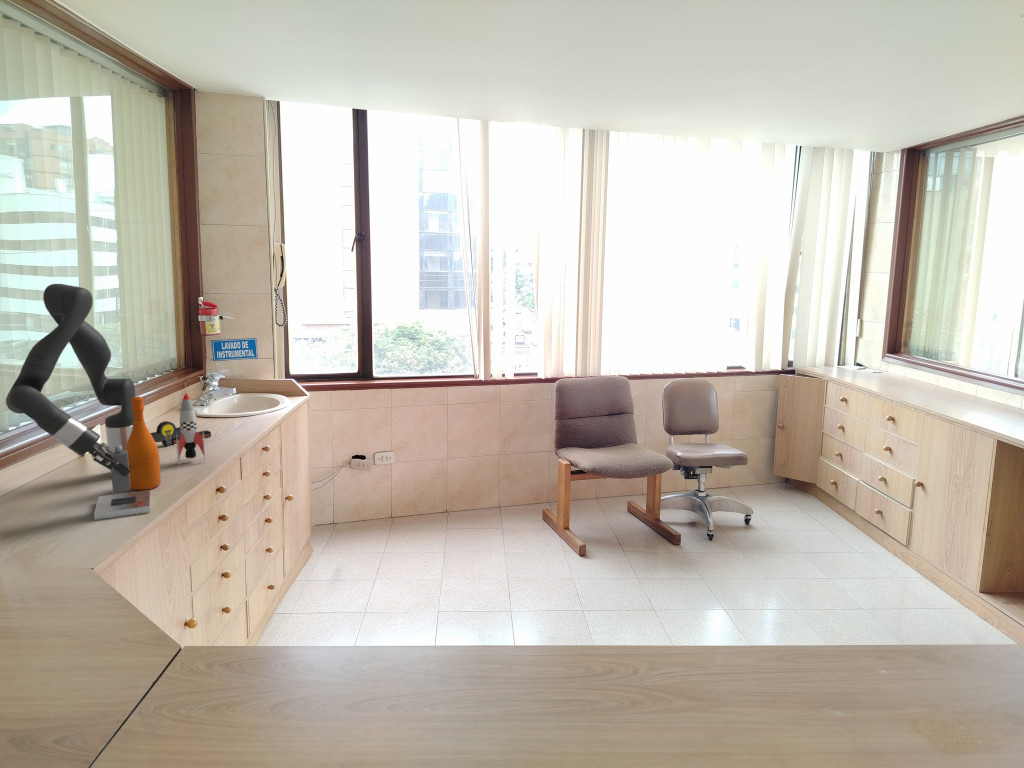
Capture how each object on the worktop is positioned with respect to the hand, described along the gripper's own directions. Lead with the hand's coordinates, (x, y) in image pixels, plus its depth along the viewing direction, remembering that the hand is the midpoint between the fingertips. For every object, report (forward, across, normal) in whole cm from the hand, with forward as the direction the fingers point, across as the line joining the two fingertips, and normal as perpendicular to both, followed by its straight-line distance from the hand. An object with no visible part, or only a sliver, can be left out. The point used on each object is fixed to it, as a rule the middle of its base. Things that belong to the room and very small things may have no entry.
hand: (127, 471), depth 204 cm
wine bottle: (+10, +19, +5) cm, 22 cm away
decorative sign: (+18, +74, -3) cm, 76 cm away
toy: (+20, +43, -5) cm, 48 cm away
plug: (+2, 0, +5) cm, 5 cm away
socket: (+6, 0, +9) cm, 11 cm away
